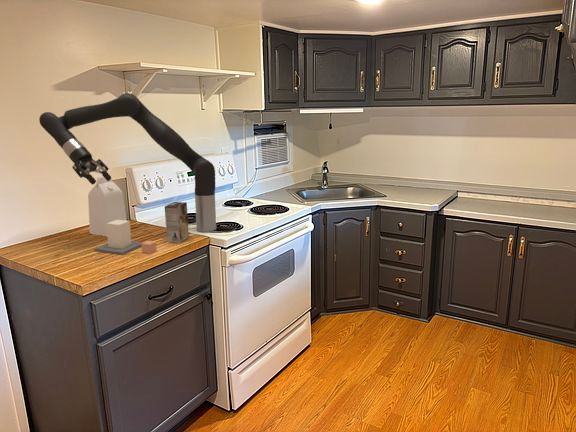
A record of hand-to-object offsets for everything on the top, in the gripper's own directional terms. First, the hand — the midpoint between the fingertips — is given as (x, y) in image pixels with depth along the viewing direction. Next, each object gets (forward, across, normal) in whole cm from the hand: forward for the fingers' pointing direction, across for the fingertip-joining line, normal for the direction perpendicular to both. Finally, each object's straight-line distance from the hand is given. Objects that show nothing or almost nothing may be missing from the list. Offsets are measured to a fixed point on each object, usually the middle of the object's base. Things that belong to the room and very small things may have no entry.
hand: (102, 181), depth 180 cm
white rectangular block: (+24, -2, +14) cm, 27 cm away
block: (+35, -2, +4) cm, 35 cm away
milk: (+9, +16, +30) cm, 35 cm away
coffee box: (+36, +17, +3) cm, 40 cm away
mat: (+24, -2, +14) cm, 28 cm away
